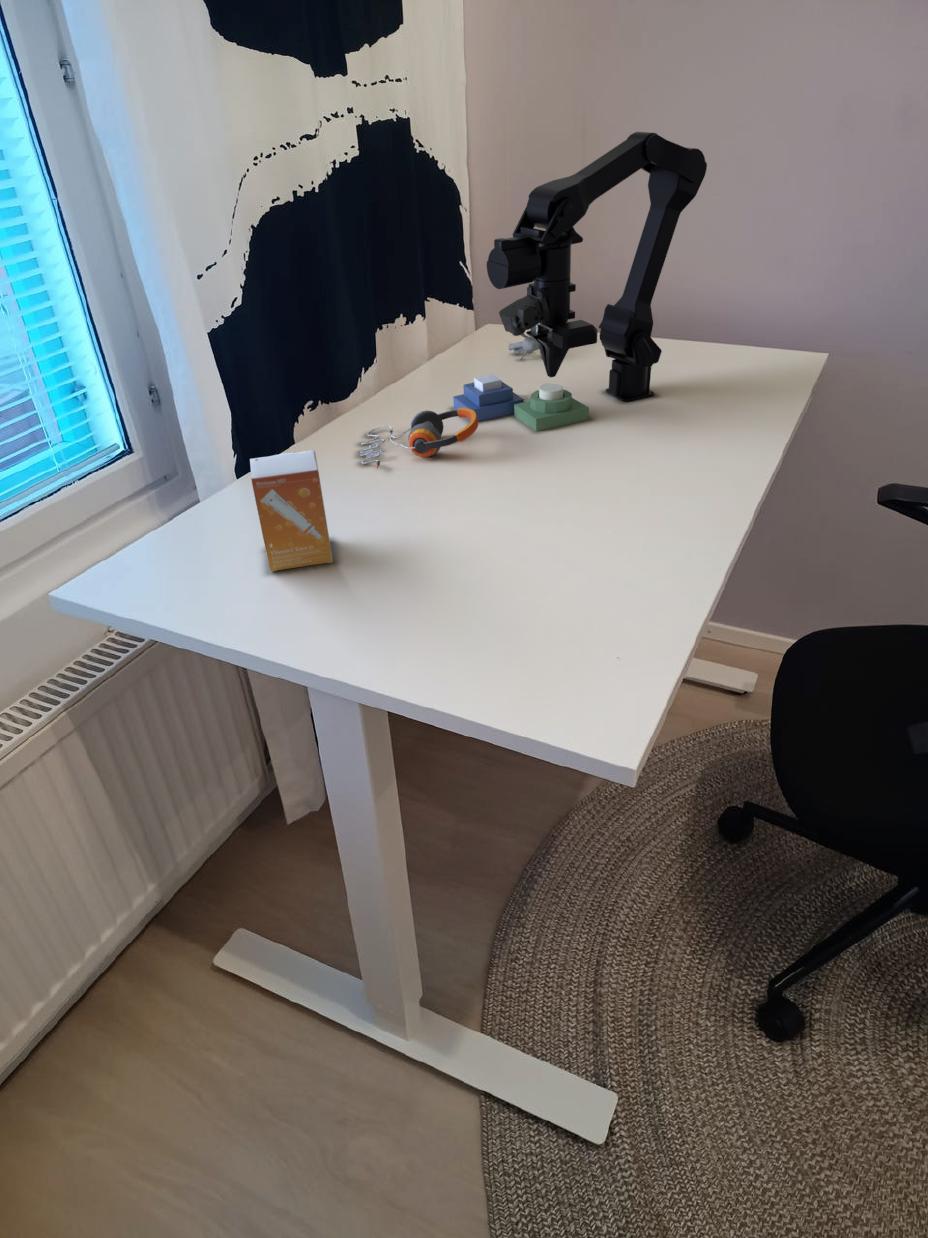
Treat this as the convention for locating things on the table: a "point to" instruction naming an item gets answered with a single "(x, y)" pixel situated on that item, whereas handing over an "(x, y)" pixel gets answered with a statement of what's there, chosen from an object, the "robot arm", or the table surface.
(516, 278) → the robot arm
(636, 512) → the table surface
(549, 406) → the green switch
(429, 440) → the headphones
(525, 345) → the grey figurine
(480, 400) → the blue switch
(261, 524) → the small box
